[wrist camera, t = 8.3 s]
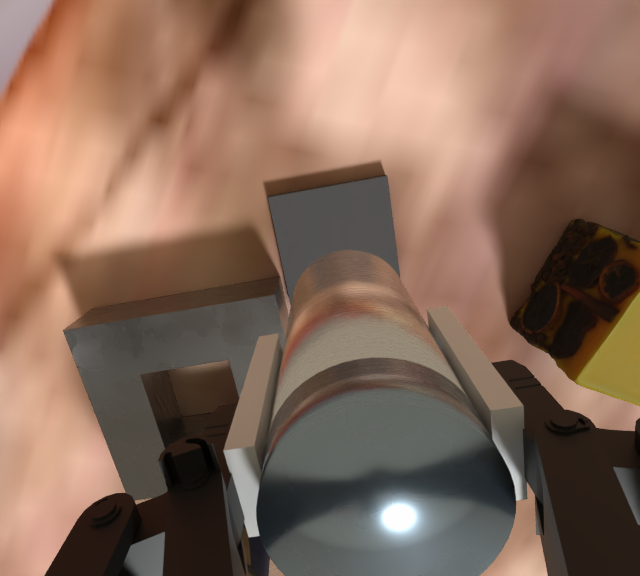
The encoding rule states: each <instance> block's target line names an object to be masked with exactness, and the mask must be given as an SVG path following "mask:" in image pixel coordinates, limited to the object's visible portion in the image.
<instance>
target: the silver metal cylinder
mask: <svg viewBox="0 0 640 576" xmlns="http://www.w3.org/2000/svg"><path fill="white" fill-rule="evenodd" d="M515 513H516V494H515V486H514V482H513V479H512V476H511V473H510V470H509V468H508V466H507V464H506V463H505V461H504V459H503V457H502V455H501V453H500V452H499V450H498V448H497V446H496V445H495V443H494V441H493V439H492V438H491V436H490V434H489V432H488V431H487V429H486V427H485V425H484V424H483V422H482V420H481V419H480V417H479V415H478V413H477V412H476V410H475V408H474V406H473V405H472V403H471V401H470V399H469V398H468V396H467V394H466V392H465V391H464V389H463V387H462V385H461V384H460V382H459V380H458V378H457V377H456V375H455V373H454V371H453V370H452V368H451V366H450V365H449V363H448V361H447V359H446V358H445V356H444V354H443V352H442V351H441V349H440V347H439V345H438V344H437V342H436V340H435V338H434V337H433V335H432V333H431V331H430V330H429V328H428V326H427V324H426V323H425V321H424V319H423V317H422V316H421V314H420V312H419V311H418V309H417V307H416V305H415V304H414V302H413V300H412V298H411V297H410V295H409V293H408V291H407V290H406V288H405V286H404V284H403V283H402V281H401V279H400V277H399V276H398V274H397V273H396V271H395V270H394V269H393V268H392V267H391V266H390V265H389V264H388V263H387V262H385V261H384V260H383V259H381V258H379V257H378V256H376V255H373V254H371V253H368V252H364V251H359V250H341V251H336V252H332V253H329V254H327V255H324V256H322V257H321V258H319V259H317V260H316V261H314V262H313V263H312V264H311V265H310V266H308V267H307V268H306V270H305V271H304V272H303V273H302V275H301V276H300V278H299V279H298V281H297V284H296V286H295V289H294V292H293V297H292V303H291V308H290V314H289V320H288V326H287V331H286V337H285V343H284V348H283V354H282V360H281V366H280V371H279V377H278V383H277V388H276V394H275V400H274V406H273V411H272V417H271V423H270V428H269V434H268V440H267V445H266V451H265V457H264V463H263V468H262V474H261V480H260V485H259V491H258V498H257V505H256V520H257V526H258V531H259V535H260V538H261V541H262V543H263V546H264V548H265V550H266V552H267V553H268V555H269V557H270V559H271V560H272V561H273V562H274V564H275V565H276V566H277V568H278V569H279V570H280V571H281V572H282V573H283V574H284V575H285V576H479V575H480V574H482V573H483V572H484V571H485V570H486V569H487V568H488V567H489V566H490V565H491V564H492V563H493V561H494V560H495V559H496V557H497V556H498V555H499V553H500V552H501V551H502V549H503V547H504V545H505V543H506V542H507V540H508V538H509V535H510V532H511V530H512V527H513V523H514V518H515Z"/></svg>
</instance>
